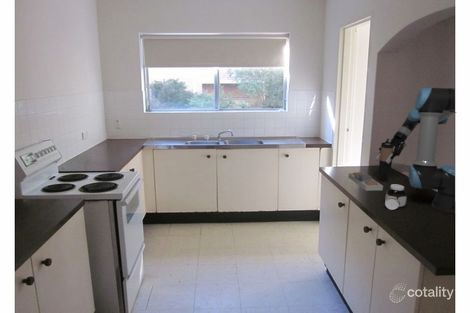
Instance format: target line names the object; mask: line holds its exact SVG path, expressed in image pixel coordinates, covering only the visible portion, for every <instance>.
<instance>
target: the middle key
mask: <svg viewBox="0 0 470 313" xmlns="http://www.w3.org/2000/svg"><path fill="white" fill-rule="evenodd" d="M371 178H372V176H371V175H370V174H368V173H364V174H359V179H361V180H362V181H365V180H371ZM372 179H373V178H372Z"/></svg>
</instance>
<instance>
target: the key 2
mask: <svg viewBox="0 0 470 313" xmlns="http://www.w3.org/2000/svg"><path fill="white" fill-rule="evenodd" d="M374 180H375V179H374ZM374 180H365V181H364V183H366V184H367V185H378V183H379V182H378V181H377V182H378V183H377V182H375V181H376V180H375V181H374Z"/></svg>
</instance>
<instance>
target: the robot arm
mask: <svg viewBox="0 0 470 313" xmlns="http://www.w3.org/2000/svg"><path fill="white" fill-rule="evenodd" d="M455 89H456V88H453V87H452V88H451V87H450V88H449V87H448V88H446V87H423V88H421V89H420V90H418V93H417V96H416V97H415V98H416V99H415V102H414V108H413V109H411V110H410V111H409V113H408V114H407V117H406V118H405V120H404V122H403V123H402V125H401V126H400V127H399V128H398V129H397V131H396V133H394V135H393V138H391V139H390V138H386V141H385V142H388V143H391V144H394V148H393V154H391V155H390V156H389V157H388V159H387V160H386V162H387V164H389V163H390V161H391V160H392V161H394V160H393V159H394V158H395V157H396V156H397V157H400V155H401V153H402V152H403V150H404V148H405V147H406V146H407V144H406V140H407V139H408V137H409V136H410V135H411V134H412V132H413V131H414V130H415V128H416V127H417V126H418V125H419V131H418V132H419V133H418V141H417V150H416V160H415V161H414V162H412V165H410V166H409V168H408V180H409V184H410V186H411V187H412V188H417V189H423V190H424V189H425V190H426V189H427V190H435V191H437V193H436V195H435V196H434V197H433V198H434V199H433V200H432V201H431V207H432V208H433V209H434V210H436V211H438V212H441V213H447V214H451V213H452V214H455V167H456V166H452V165H447V164H446V165H445V164H442V165H441V166H440V167H439V168H438V164H437V163H436V161H435V157H436V150H437V139H438V130H439V125H445V124H447V122H448V118H449V117H450V116H452V115H454V114H455V113H456V112H455ZM378 150H379V153H377V156H376V157H375V159H376V161H378V162H379V161H380V152H381V146H380V147H379V148H378ZM455 215H456V214H455Z"/></svg>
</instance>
